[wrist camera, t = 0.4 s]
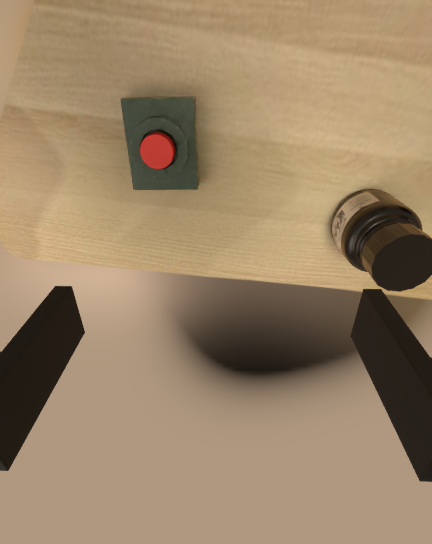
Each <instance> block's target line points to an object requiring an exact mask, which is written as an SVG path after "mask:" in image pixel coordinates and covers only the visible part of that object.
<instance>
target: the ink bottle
mask: <svg viewBox="0 0 432 544" xmlns="http://www.w3.org/2000/svg"><path fill="white" fill-rule="evenodd" d="M331 233H332V237H333V239H334V241H335V242H336V244H337V245H338V247H339V248H340V250H341V251H342V253H343V254H344V256H345V257H346V259H347V260H348V261H349V262H350V263H351V264H352V265H353V266H354V267H356V268H357V269H359V270H362V271H365V272H368V273H369V274H370V276H371V277H372V278H373V280H374V281H375V282H376V284H377V285H378V286H380V287H382V288H384V289H386V290H388V291H390V290H391V291H403V290H408V289H413V288H415V287H416V286H418V285H420V284H422V283H424V282H425V281H426V280H427V279H428V278H429V277H430V276H431V275H432V238H431V237H429V236H428V235H427V234H426V233H424V232H423V231H422V224H421V221H420V219H419V217H418V216H417V215H416V213H415V212H413V211H412V210H411V209H410V208H408V207H407V206H405V205H404V204H403V203H401V202H400V201H398V200H397V199H395V198H394V197H393V196H391V195H390V194H388V193H386V192H383V191H379V190H364V191H360V192H357V193H355V194H352V195H351V196H349V197H348V198H346V199H345V200H344V201H343V202H342V203H341V204H340V205H339V207H338V208H337V210H336V212H335V213H334V216H333V219H332V223H331Z"/></svg>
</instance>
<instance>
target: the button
mask: <svg viewBox="0 0 432 544" xmlns="http://www.w3.org/2000/svg"><path fill="white" fill-rule="evenodd" d="M140 154H141V157H142V159H143V161H144V162H145V163H146V164H147V165H148V166H149V167H151V168H154V169H163V168H165V167H167V166H168V165H169V164H170V163H171V161H172V160H173V158H174V156H175V145H174V143H173V141H172V139H171V138H170V137H169V136H168V135H166V134H164V133H161V132H155V133H152V134H150V135H148V136H147V137H146V138H145V139H144V140H143V141H142V143H141V146H140Z"/></svg>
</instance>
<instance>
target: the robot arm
mask: <svg viewBox="0 0 432 544" xmlns="http://www.w3.org/2000/svg"><path fill="white" fill-rule="evenodd" d="M84 333H85V331H84V328H83V324H82V321H81V317H80V314H79V310H78V307H77V304H76V300H75V296H74V292H73V289H72V287H71V286H55V287H54V288H53V290H52V291H51V292H50V293H49V295H48V296H47V297H46V298H45V299H44V301H43V302H42V303H41V304H40V305H39V307H38V308H37V309H36V310H35V312H34V313H33V314H32V315H31V317H30V318H29V319H28V320H27V321H26V323H25V324H24V325H23V326H22V327H21V329H20V330H19V331H18V332H17V334H16V335H15V336H14V337H13V338H12V340H11V341H10V342H9V343H8V345H7V346H6V347H5V348H4V349H3V351H2V352H0V470H1V471H8V470H9V468H10V467H11V465H12V463H13V461H14V459H15V457H16V456H17V454H18V452H19V450H20V449H21V447H22V445H23V443H24V441H25V439H26V437H27V436H28V434H29V432H30V430H31V429H32V427H33V425H34V423H35V421H36V420H37V418H38V416H39V414H40V412H41V411H42V409H43V407H44V405H45V403H46V402H47V400H48V398H49V396H50V394H51V392H52V391H53V389H54V387H55V385H56V384H57V382H58V380H59V378H60V376H61V375H62V373H63V371H64V369H65V367H66V365H67V363H68V362H69V360H70V358H71V356H72V355H73V353H74V351H75V349H76V347H77V346H78V344H79V342H80V340H81V338H82V337H83V335H84ZM351 338H352V340H353V342H354V344H355V346H356V348H357V350H358V352H359V355H360V357H361V359H362V361H363V363H364V365H365V367H366V369H367V371H368V373H369V375H370V378H371V380H372V382H373V384H374V386H375V388H376V390H377V392H378V395H379V396H380V399H381V401H382V403H383V405H384V407H385V409H386V411H387V413H388V416H389V417H390V420H391V422H392V424H393V426H394V428H395V430H396V432H397V434H398V436H399V439H400V441H401V443H402V445H403V447H404V449H405V451H406V453H407V455H408V457H409V459H410V461H411V464H412V466H413V468H414V470H415V472H416V474H417V476H418V478H419V480H420V481H427V482H428V481H429V482H432V358H430V357H429V355H428V354H427V352H426V351H425V350H424V348H423V347H422V345H421V344H420V343H419V341H418V340H417V339H416V337H415V336H414V334H413V333H412V332H411V330H410V329H409V327H408V326H407V325H406V323H405V322H404V321H403V319H402V318H401V316H400V315H399V314H398V312H397V311H396V310H395V308H394V307H393V305H392V304H391V303H390V301H389V300H388V299H387V297H386V296H385V294H384V293H383V292H382V290H381V289H363V293H362V297H361V300H360V304H359V307H358V311H357V315H356V318H355V322H354V325H353V329H352V333H351Z"/></svg>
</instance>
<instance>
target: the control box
mask: <svg viewBox="0 0 432 544" xmlns="http://www.w3.org/2000/svg"><path fill="white" fill-rule="evenodd" d="M121 105H122V112H123V119H124V126H125V133H126V140H127V147H128V154H129V161H130V168H131V175H132V182H133V189H134V190H185V189H198V186H199V170H198V145H197V119H196V97H140V98H122V99H121ZM155 132H161V133H164V134H166V135H168V136H169V137H170V138H171V139H172V141H173V143H174V145H175V156H174V158H173V160H172V161H171V163H170V164H169V165H168V166H167V167H165V168H163V169H154V168H151V167H149V166H148V165H147V164H146V163H145V162H144V161H143V159H142V157H141V154H140V146H141V143H142V141H143V140H144V139H145V138H146V137H147V136H148V135H150V134H152V133H155Z"/></svg>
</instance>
